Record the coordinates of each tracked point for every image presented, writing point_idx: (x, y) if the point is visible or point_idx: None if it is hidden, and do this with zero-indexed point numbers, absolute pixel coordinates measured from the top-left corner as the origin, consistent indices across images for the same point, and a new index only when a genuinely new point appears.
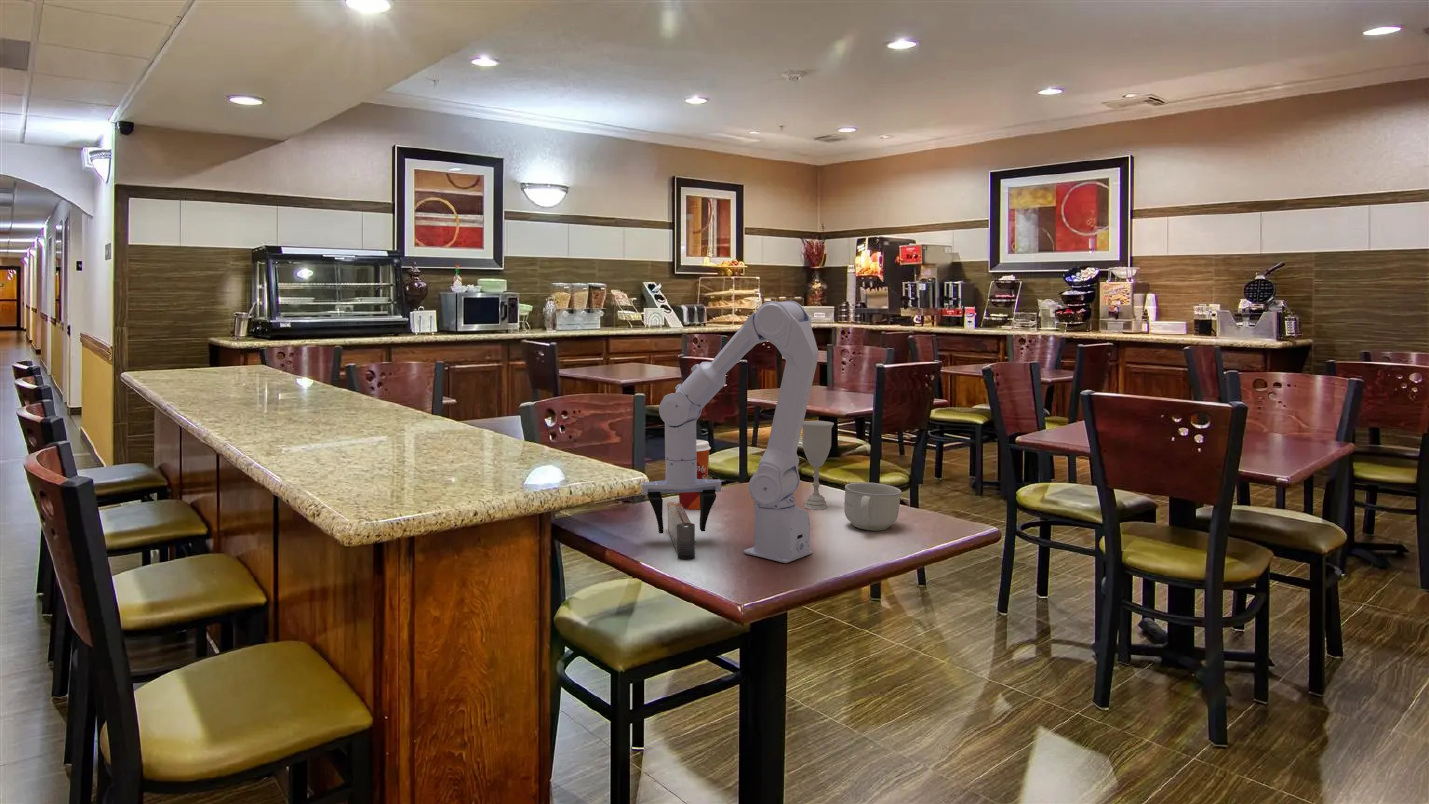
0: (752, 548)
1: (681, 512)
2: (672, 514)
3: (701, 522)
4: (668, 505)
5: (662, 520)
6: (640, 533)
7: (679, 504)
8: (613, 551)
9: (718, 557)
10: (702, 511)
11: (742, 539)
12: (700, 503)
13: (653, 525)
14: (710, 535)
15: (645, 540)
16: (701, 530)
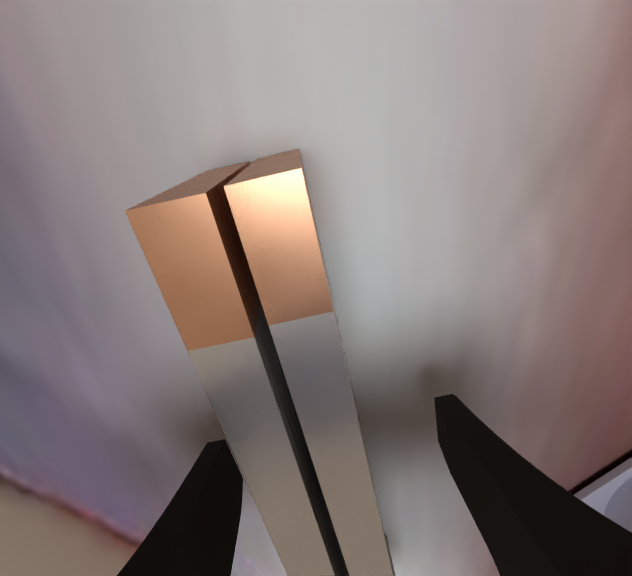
0: (608, 492)
1: (338, 480)
2: (283, 565)
3: (459, 479)
4: (175, 311)
5: (230, 571)
6: (64, 272)
7: (288, 219)
8: (74, 517)
9: (465, 530)
10: (503, 571)
11: (619, 340)
12: (530, 554)
13: (63, 45)
14: (475, 285)
15: (147, 388)
16: (440, 446)
